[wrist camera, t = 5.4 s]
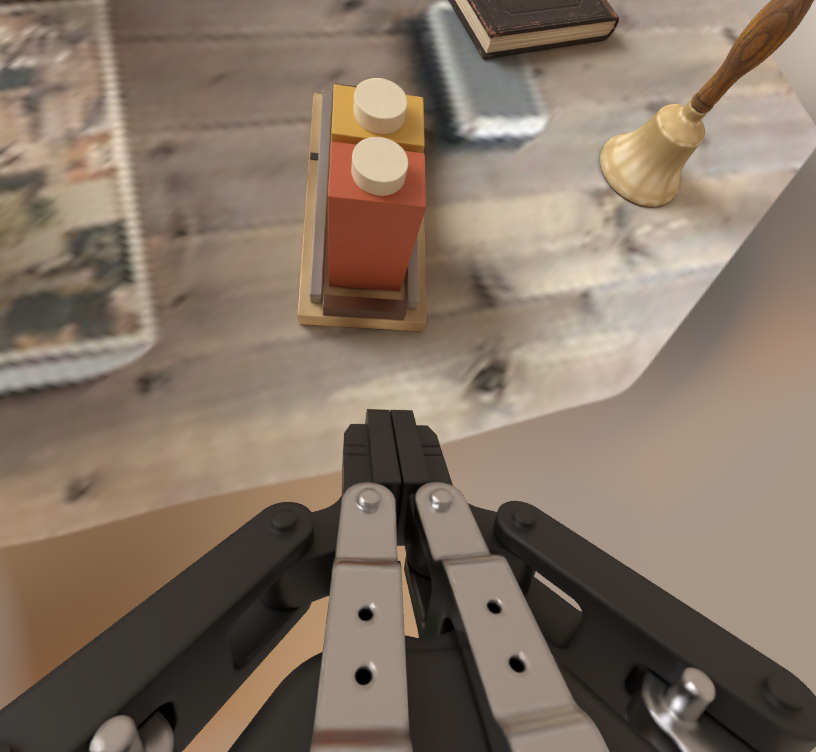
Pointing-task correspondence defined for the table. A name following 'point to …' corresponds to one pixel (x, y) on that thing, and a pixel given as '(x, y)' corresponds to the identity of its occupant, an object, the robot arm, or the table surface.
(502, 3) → the hardcover book
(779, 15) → the hand bell
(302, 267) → the score rail
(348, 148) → the block
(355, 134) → the yellow toy brick
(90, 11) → the table surface
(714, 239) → the table surface
